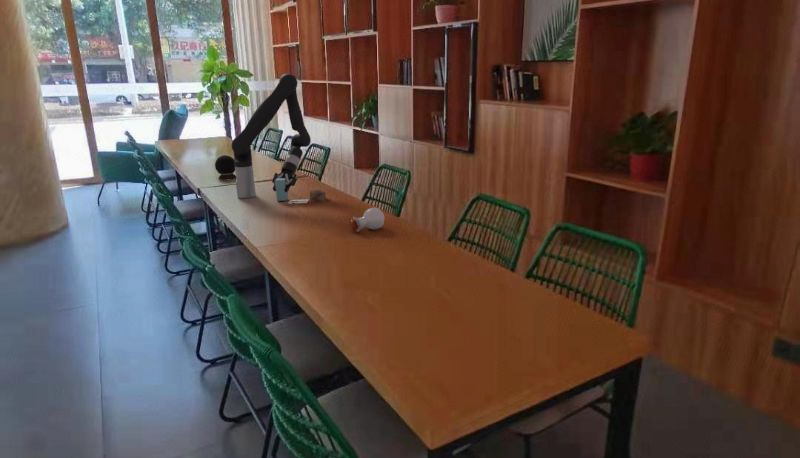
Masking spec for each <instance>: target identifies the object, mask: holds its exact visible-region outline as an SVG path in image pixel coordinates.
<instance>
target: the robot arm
mask: <svg viewBox="0 0 800 458" xmlns="http://www.w3.org/2000/svg"><path fill="white" fill-rule="evenodd" d="M297 79H298V78H297V77H296V76H295V75H294V74H292V73H289V72H288V73H287V72H286V73H283V74H282V75H281V76H280V78H279V80H278V83H277V85H276V87H275V88H274V90H273V91H272V92H271V93H270V94H269V96H267V97H266V98H265V99H264V100H263V101H262V102H261V103H260V104H259V106H258V107H257V108H256V109H255V111H254V112H253V114H252V115H251V117H250V119H249V120H248V122H247V124H246V125H245V127H244V128H243V130H241V132H240V133H239V134H238V135H237V136H236V137H234V138H233V140H232V142H231V149H232V151H233V159H234V164H235V171H234V172H235V176H236V178H235V179H236V180H235V188H236V194H237V195H236V196H237V198H238V199H251V198H254V197H256V196H257V194H256V192H257V191H256V184H255V178H254V177H255V176H254V169H253V156H252V149H251V148H252V144H253V143H254V141H255V140H256V137H258V136H259V134H261V132H263V131H264V129H265V128H266V127H267V126H268V125H269V124H270V123H271V121H272V120H273V118H274V117H275V116H276V114H277V113H278V111H279V110H280V109H281V106H282V105H283V103H284V102H285V101H286V105H287V111H288V112H287V113H288V117H289V123H290V126H291V129H292V130H293V131H296V132H297V133H296V134H294V135H293V136H292V137H291V139H290V140H291V141H290V146H289V147H290V148H289V152H288V154H287V156H286V158H285V160H284V162H283V164H282V167H281V169H280V170H281V171H280V173H277V172H275V173H274V175H273V178H272V184H273V186H272V190H273V191H274V192H276V187H275V180H276V179H277V178H286V181H287V185H286V187H285V189H284V191H285V192H289V191H290V188H291V187H294V186H295V185H296V183H297V181H298V179H299V177H298V175H297V174H296V172H297V169H298V167H299V165H300V162H301V159H302V157H303V153H304V152H303V150H302V148H305V147H309V146H310V144H311V142H312V141H311V140H312V139H311V136H310V134H309V132H308V129H307V128H306V126H305V123H304V117H303V113H302V110H301V106H300V102H299V100H298V99H299V98H298V93H297V87H298V83H299V82H298V80H297Z"/></svg>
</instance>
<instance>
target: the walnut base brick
mask: <svg viewBox="0 0 800 458" xmlns="http://www.w3.org/2000/svg"><path fill="white" fill-rule="evenodd" d="M326 198H327V197H326V188H323V189H320V188H319V189H309V201H310V203H322V202H323V203H324V202H327V201H326Z"/></svg>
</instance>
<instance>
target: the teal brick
mask: <svg viewBox="0 0 800 458" xmlns="http://www.w3.org/2000/svg"><path fill="white" fill-rule="evenodd" d="M286 185H287V181H286V178H277V179H276V180H275V187H276V191H275V195H276V201H277V202H280V201H283V202H286V201H287V200H288V199H289V193H288V192H289V191H288V192H285V191H284V189H285V187H286Z"/></svg>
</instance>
